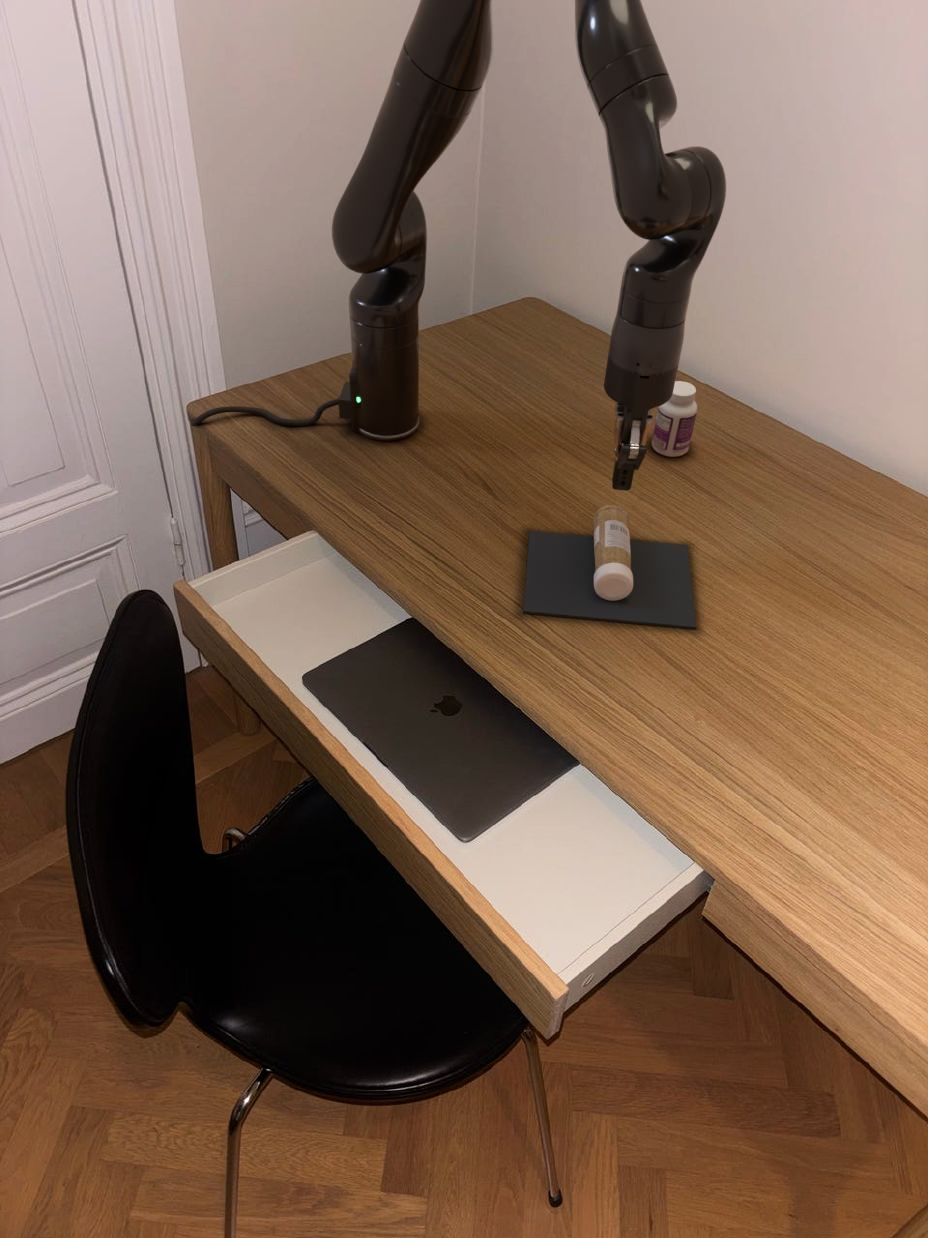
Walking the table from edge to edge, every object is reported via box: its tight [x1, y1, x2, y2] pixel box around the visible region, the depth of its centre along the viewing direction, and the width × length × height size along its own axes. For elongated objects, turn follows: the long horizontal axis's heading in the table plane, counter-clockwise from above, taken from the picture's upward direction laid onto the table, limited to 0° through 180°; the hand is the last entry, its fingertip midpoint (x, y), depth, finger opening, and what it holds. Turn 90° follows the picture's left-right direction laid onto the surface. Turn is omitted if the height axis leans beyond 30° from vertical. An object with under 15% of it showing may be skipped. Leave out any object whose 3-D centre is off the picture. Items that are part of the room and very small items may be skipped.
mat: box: [522, 530, 697, 630], centre depth 115 cm, size 20×15×1 cm
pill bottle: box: [651, 380, 698, 458], centre depth 133 cm, size 5×5×10 cm
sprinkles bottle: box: [592, 504, 633, 601], centre depth 115 cm, size 5×5×14 cm
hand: (620, 486), depth 112 cm, fingers closed
